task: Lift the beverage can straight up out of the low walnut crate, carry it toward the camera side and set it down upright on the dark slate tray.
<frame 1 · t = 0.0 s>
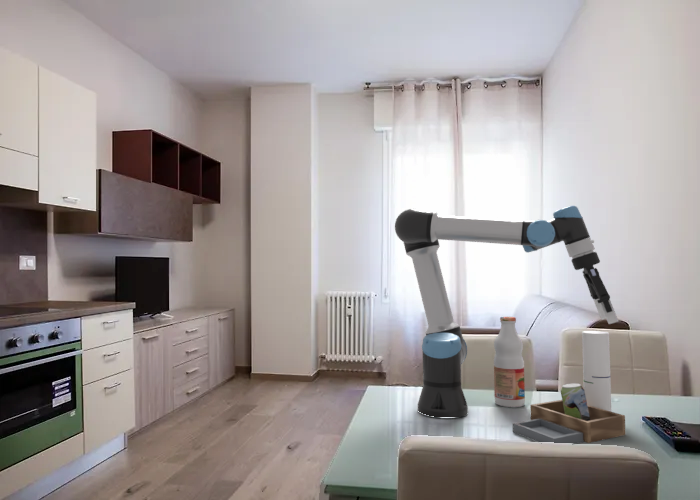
hand: (609, 320, 152), 28 cm above the table, tool tilted 20°, fingers open, 13 cm apart
beverage can: (576, 429, 137), resting in crate
cylindrical container: (597, 419, 145), on the table
crate: (576, 428, 137), on the table
fruit juice: (509, 404, 162), on the table
tray: (546, 436, 130), on the table
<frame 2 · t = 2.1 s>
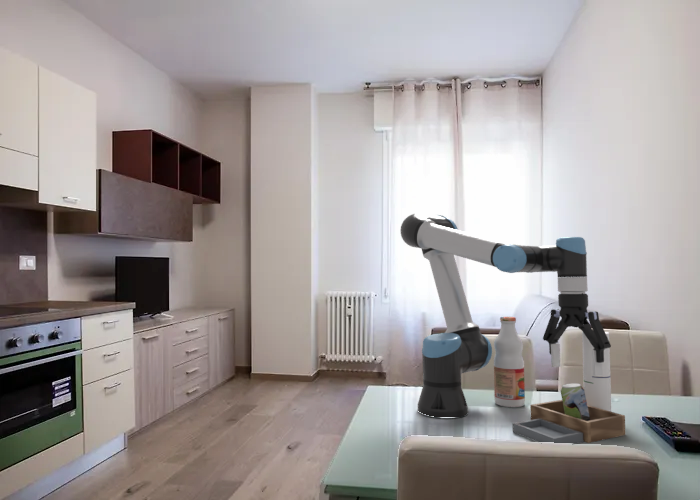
hand: (575, 370, 137), 16 cm above the table, tool pointing down, fingers open, 13 cm apart
nothing on the table moved.
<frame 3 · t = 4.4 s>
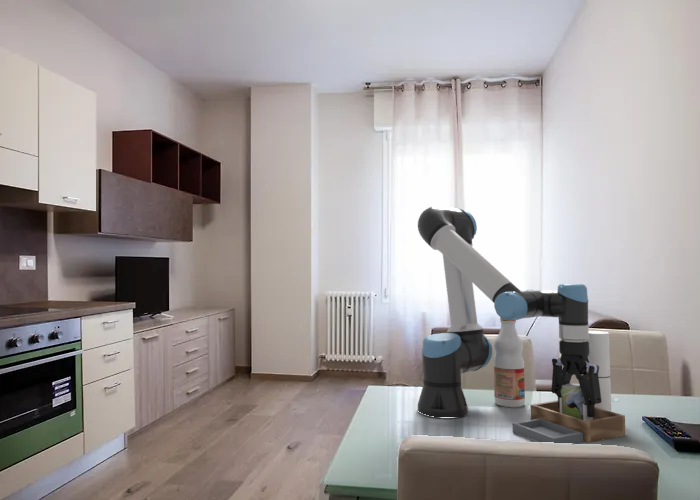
hand: (576, 424, 137), 1 cm above the table, tool pointing down, fingers closed on beverage can, 7 cm apart
beverage can: (576, 429, 137), resting in crate, touching gripper
everything else where it was.
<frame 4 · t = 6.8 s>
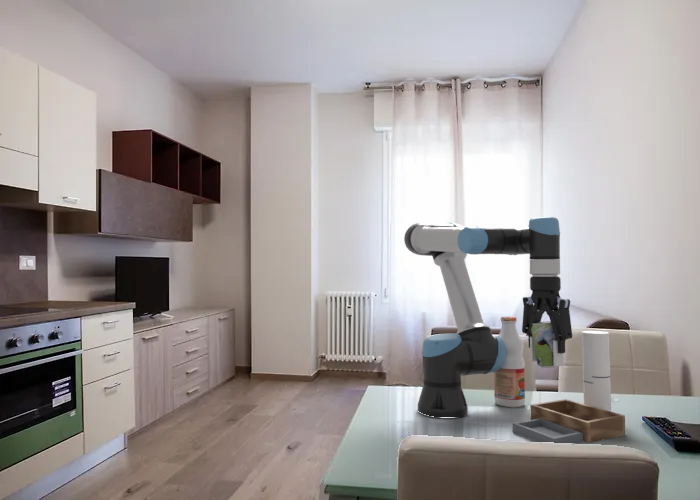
hand: (546, 363, 131), 19 cm above the table, tool pointing down, fingers closed on beverage can, 7 cm apart
beverage can: (546, 368, 131), point 18 cm above the table, touching gripper
everything else where it was.
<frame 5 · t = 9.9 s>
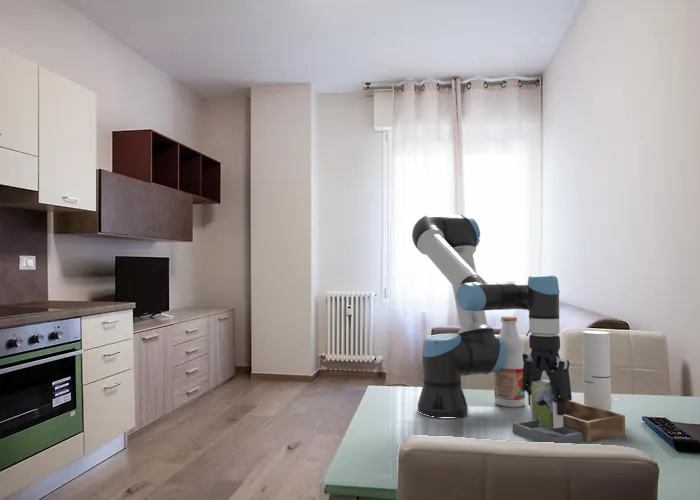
hand: (546, 422, 130), 4 cm above the table, tool pointing down, fingers closed on beverage can, 7 cm apart
beverage can: (546, 427, 130), point 2 cm above the table, touching gripper
fruit juice: (509, 404, 162), on the table, touching arm
everything else where it was.
when the fingers open (4 cm above the table, at t = 10.6 s): beverage can drops 2 cm, resting on tray.
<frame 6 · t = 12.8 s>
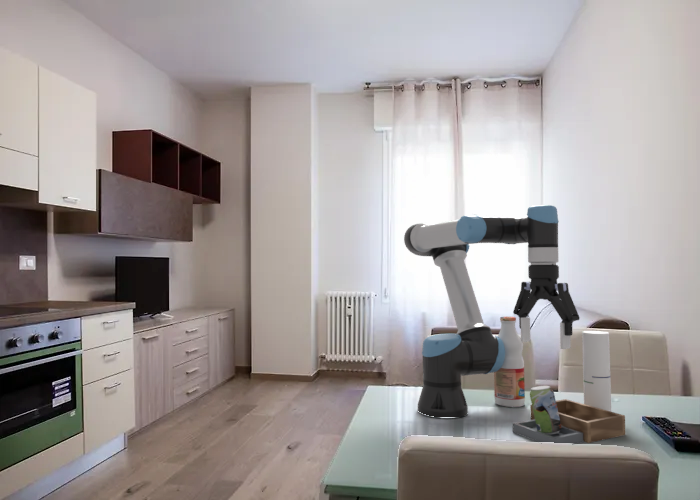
hand: (544, 344, 132), 24 cm above the table, tool pointing down, fingers open, 13 cm apart
beverage can: (546, 434, 130), point 1 cm above the table, touching tray
everything else where it was.
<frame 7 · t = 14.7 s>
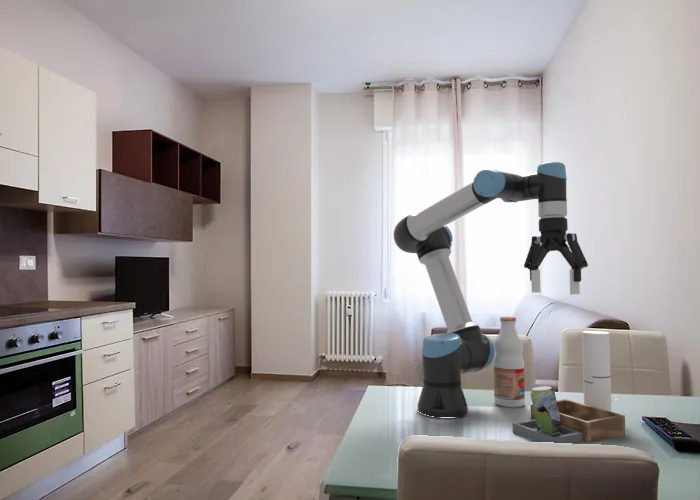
hand: (554, 293, 140), 37 cm above the table, tool pointing down, fingers open, 13 cm apart
fruit juice: (509, 404, 162), on the table
everything else where it was.
at the end: beverage can inside the target area on the tray (0.0 cm from its centre), point 0.7 cm above the tray's base; beverage can tilted 2°; the gripper is holding nothing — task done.
